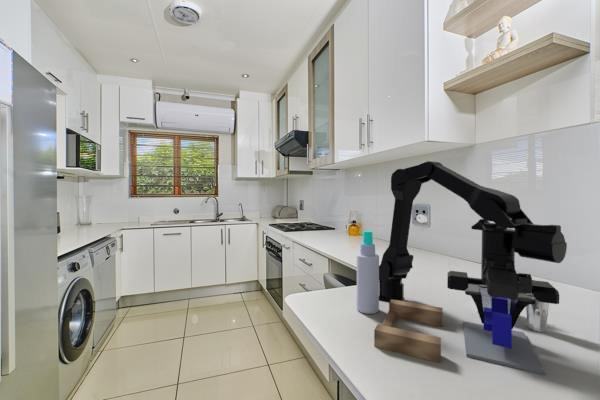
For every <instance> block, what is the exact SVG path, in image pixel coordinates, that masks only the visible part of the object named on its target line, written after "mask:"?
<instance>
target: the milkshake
mask: <svg viewBox="0 0 600 400" xmlns="http://www.w3.org/2000/svg"><path fill="white" fill-rule="evenodd" d="M533 299H534V301H535V302H536V303H535V304H534V305H532V304H529V305H528V306H526V307H525V309H526V311H525V312H526V321H527V328H528V329H529V330H532V331H533V332H539V333H545V332H547V325H548V324H547V323H548V316H549V307H550V303H545V302H539V301H538V300H537V299H536V298H534V297H533Z"/></svg>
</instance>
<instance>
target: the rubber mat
mask: <svg viewBox="0 0 600 400" xmlns="http://www.w3.org/2000/svg"><path fill="white" fill-rule="evenodd" d="M462 329H463V336H464V337H463V339H464V346H465V355H466V357H467V358H471V359H475V360H480V361H484V362H489V363H492V364H497V365H501V366H506V367H510V368H514V369H517V370H523V371H526V372H531V373H535V374H540V375H544V376H545V375H546V371H545V368H544V366H543V365H542V363H541V361H540V359H539V357H538V355H537V354H536V352H535V351H534V349H533V346H532V344H531V343H530V341H529V340H528V337H527V336H526V334H525V331H524V332H523V331H520V330H519V331H518V330H514V329H512V349H510V348H506V347H502V346H498V345H494V344H493V343H492V332H491V331H486V330H484V324H482V323H476V322H470V321H464V320H462Z"/></svg>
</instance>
